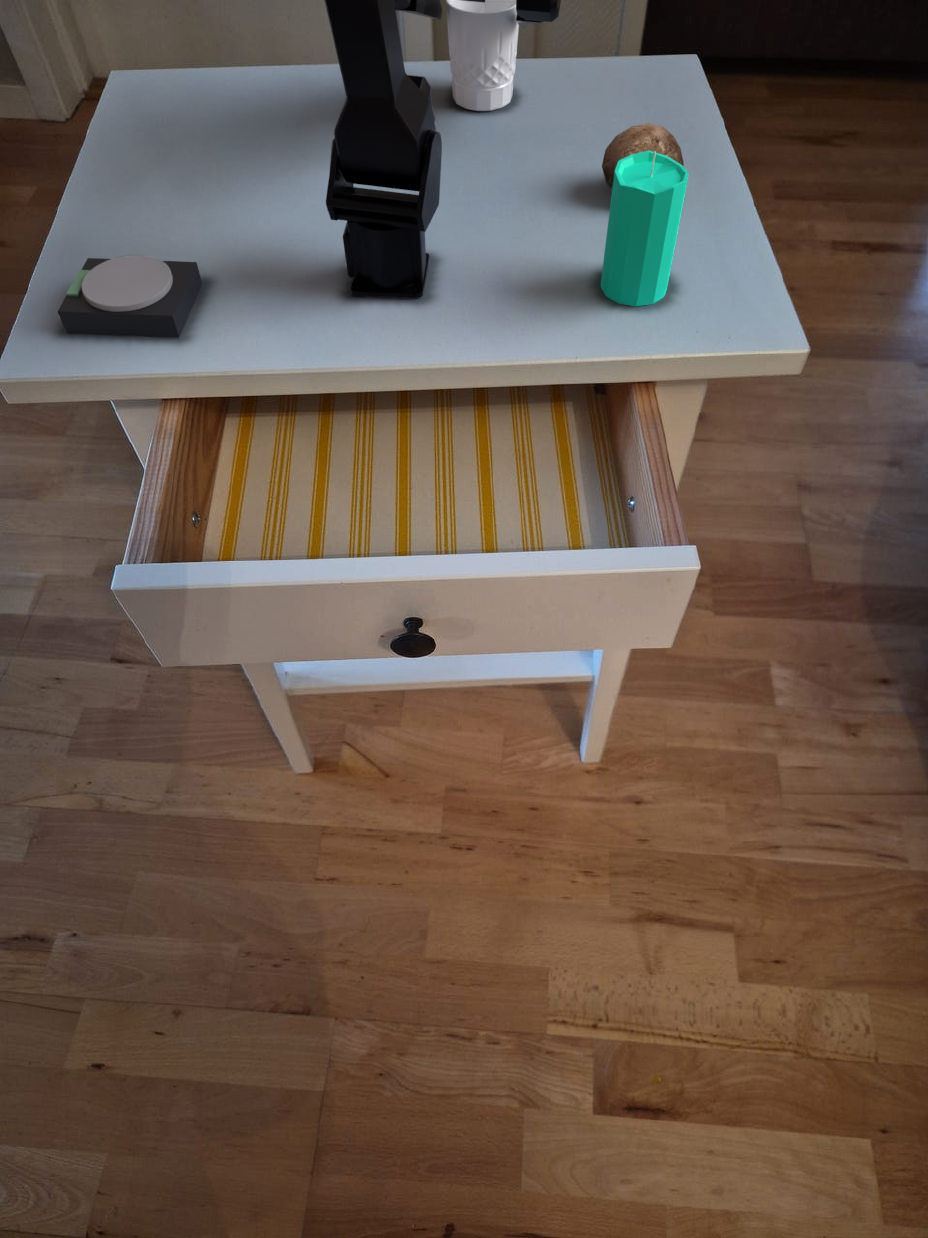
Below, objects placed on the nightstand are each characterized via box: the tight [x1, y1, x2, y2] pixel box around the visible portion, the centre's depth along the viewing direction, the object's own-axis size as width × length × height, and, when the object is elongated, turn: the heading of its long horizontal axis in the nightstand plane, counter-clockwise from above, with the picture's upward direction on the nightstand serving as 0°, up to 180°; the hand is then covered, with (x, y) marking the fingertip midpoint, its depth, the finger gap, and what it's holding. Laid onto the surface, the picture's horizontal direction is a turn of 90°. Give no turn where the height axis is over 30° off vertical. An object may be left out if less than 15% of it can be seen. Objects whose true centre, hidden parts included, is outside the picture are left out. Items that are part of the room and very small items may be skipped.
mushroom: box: [601, 122, 685, 191], centre depth 89 cm, size 8×8×6 cm
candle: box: [599, 151, 690, 308], centre depth 76 cm, size 6×6×12 cm
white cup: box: [445, 0, 520, 112], centre depth 99 cm, size 8×8×10 cm
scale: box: [56, 254, 203, 339], centre depth 79 cm, size 10×8×3 cm
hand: (481, 18), depth 96 cm, fingers open, 9 cm apart
